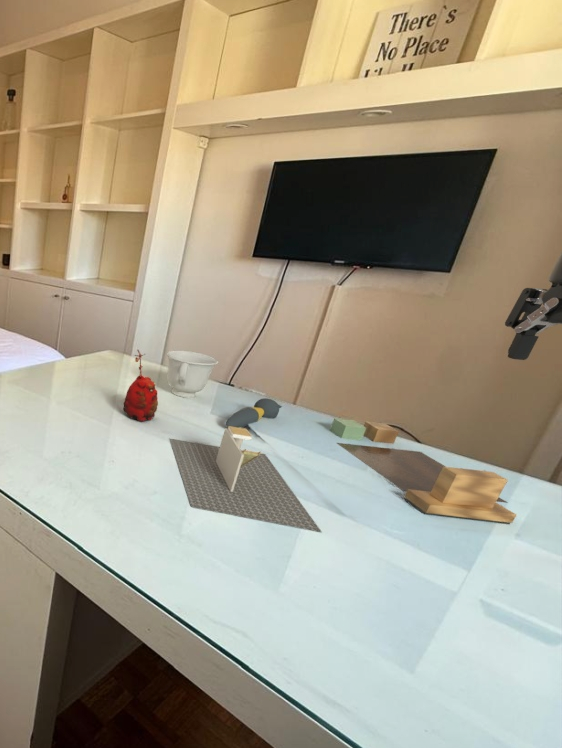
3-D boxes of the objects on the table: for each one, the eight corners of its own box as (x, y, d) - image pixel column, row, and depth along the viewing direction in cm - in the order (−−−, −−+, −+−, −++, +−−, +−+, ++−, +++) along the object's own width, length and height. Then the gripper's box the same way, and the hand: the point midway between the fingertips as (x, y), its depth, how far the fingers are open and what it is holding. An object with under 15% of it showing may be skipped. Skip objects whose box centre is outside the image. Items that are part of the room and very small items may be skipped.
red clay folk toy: (150, 426, 97) (165, 358, 91) (117, 417, 100) (129, 351, 95) (157, 415, 103) (171, 351, 97) (126, 407, 106) (138, 345, 101)
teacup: (150, 396, 114) (158, 358, 111) (165, 382, 126) (173, 347, 122) (201, 409, 108) (211, 369, 104) (212, 393, 119) (222, 357, 116)
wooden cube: (391, 448, 94) (377, 440, 98) (399, 431, 93) (385, 423, 96) (371, 446, 94) (358, 438, 98) (378, 429, 93) (365, 421, 97)
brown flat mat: (418, 456, 91) (420, 451, 91) (504, 508, 74) (508, 502, 74) (333, 447, 92) (335, 442, 92) (400, 496, 76) (403, 490, 75)
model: (234, 464, 82) (246, 426, 80) (252, 495, 73) (266, 453, 70) (215, 461, 83) (226, 423, 80) (230, 491, 73) (243, 449, 71)
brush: (480, 514, 72) (504, 470, 69) (507, 531, 68) (534, 485, 65) (400, 504, 73) (420, 461, 70) (421, 521, 69) (444, 475, 66)
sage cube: (359, 445, 94) (347, 437, 98) (366, 427, 93) (353, 420, 97) (339, 443, 95) (327, 434, 99) (346, 425, 93) (333, 418, 97)
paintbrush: (242, 436, 94) (249, 414, 93) (219, 427, 98) (225, 406, 96) (283, 419, 106) (289, 399, 104) (260, 411, 109) (266, 392, 108)
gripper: (715, 255, 53) (635, 385, 58) (578, 249, 66) (524, 356, 72) (644, 250, 53) (571, 379, 59) (522, 245, 67) (472, 351, 72)
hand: (545, 366), depth 65 cm, fingers open, 8 cm apart
